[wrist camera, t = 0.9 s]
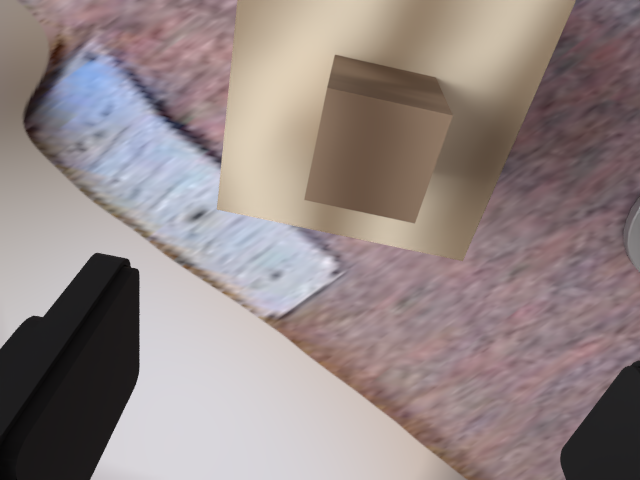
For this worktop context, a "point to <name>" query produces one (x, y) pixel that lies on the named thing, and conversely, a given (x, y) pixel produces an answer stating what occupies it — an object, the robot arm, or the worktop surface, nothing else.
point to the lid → (380, 113)
